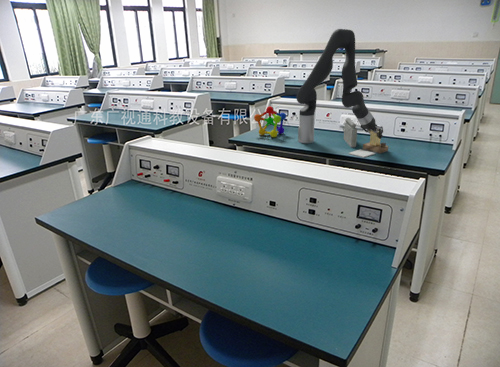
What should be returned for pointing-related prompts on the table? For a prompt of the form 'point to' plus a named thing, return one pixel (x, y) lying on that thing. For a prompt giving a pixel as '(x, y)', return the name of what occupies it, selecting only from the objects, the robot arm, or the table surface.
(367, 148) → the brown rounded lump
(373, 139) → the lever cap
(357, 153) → the mat
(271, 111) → the molecular model
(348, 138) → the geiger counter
